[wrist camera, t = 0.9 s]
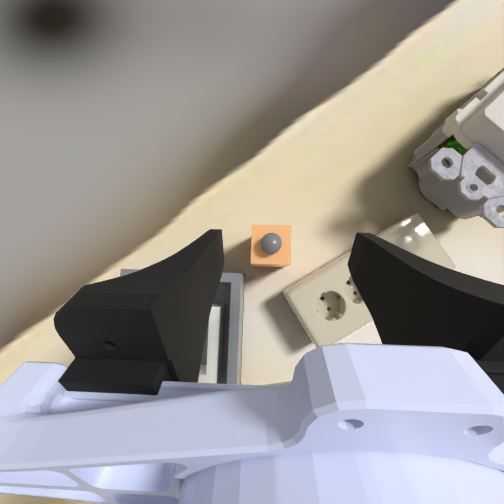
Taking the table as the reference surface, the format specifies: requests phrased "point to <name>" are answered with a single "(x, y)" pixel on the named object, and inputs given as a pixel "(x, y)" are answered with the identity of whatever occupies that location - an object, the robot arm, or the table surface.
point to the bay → (222, 332)
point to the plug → (271, 245)
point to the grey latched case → (467, 158)
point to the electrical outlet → (353, 285)
